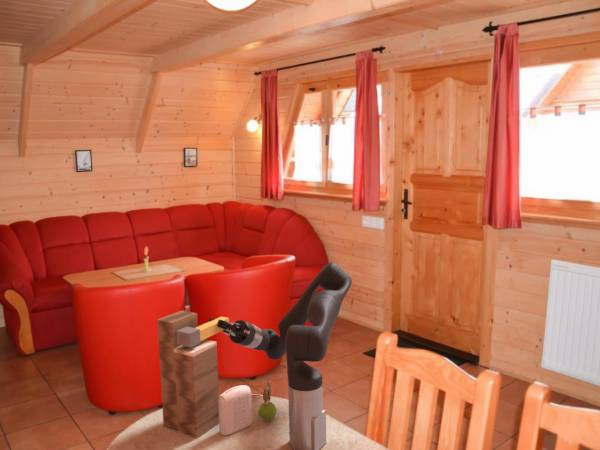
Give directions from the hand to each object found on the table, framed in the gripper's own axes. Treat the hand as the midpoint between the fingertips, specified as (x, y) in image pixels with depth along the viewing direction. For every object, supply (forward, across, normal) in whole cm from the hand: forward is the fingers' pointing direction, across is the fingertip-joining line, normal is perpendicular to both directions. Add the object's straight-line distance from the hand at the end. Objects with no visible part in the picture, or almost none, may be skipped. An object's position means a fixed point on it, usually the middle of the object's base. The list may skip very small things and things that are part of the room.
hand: (214, 322), depth 161 cm
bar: (+2, 0, +5) cm, 5 cm away
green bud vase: (-19, +14, +23) cm, 33 cm away
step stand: (-7, -2, +30) cm, 31 cm away
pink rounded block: (-12, +10, +27) cm, 31 cm away
